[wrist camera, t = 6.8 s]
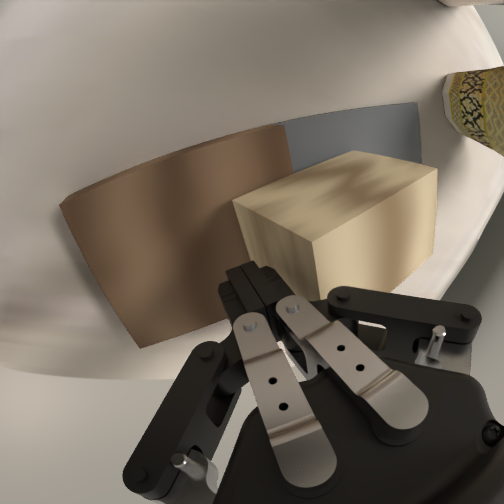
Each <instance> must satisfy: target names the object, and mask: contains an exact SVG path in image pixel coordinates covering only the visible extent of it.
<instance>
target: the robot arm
mask: <svg viewBox="0 0 504 504" xmlns="http://www.w3.org/2000/svg"><path fill="white" fill-rule="evenodd" d="M438 1H440V2H441V3H443V4H444V5H447V6H451V7H454V6H468V5H504V0H438ZM225 272H226V275H227V278H228V281H225V282H223V283H220V284H219V287H218V293H219V296H220V299H221V301H222V304H223V307H224V309H225V312H226V314H227V317H228V319H229V321H230V324H231V326H232V331H231V333H230V334H229V336H228V337H227V338H226V339H225V340H223V341H222V342H220V343H217V342H214V341H207V342H203V343H201V344H199V345H197V346H196V347H195V348H194V349H193V350H192V352H191V354H190V355H189V357H188V359H187V361H186V362H185V364H184V366H183V367H182V369H181V371H180V373H179V374H178V376H177V378H176V379H175V381H174V383H173V385H172V386H171V388H170V390H169V392H168V393H167V395H166V397H165V398H164V400H163V402H162V404H161V405H160V407H159V409H158V410H157V412H156V414H155V416H154V417H153V419H152V421H151V423H150V424H149V426H148V428H147V429H146V431H145V433H144V435H143V436H142V438H141V440H140V442H139V443H138V445H137V447H136V448H135V450H134V452H133V454H132V455H131V457H130V459H129V461H128V462H127V464H126V466H125V468H124V470H123V482H124V484H125V486H126V487H127V488H128V489H129V490H130V491H132V492H134V493H137V494H139V495H141V496H143V497H144V498H146V499H148V500H151V501H153V502H156V503H159V504H504V426H503V425H501V424H499V423H498V422H497V421H496V420H495V418H494V416H493V414H492V412H491V410H490V408H489V405H488V402H487V398H486V394H485V391H484V389H483V387H482V386H481V384H480V383H479V382H478V381H477V380H475V378H473V377H471V376H470V367H471V352H472V342H473V340H474V338H475V335H476V333H477V331H478V328H479V326H480V323H481V320H482V317H481V314H480V312H479V311H478V310H477V309H476V308H475V307H473V306H471V305H467V304H460V303H453V302H446V301H439V300H432V299H426V298H419V297H413V296H406V295H400V294H393V293H387V292H381V291H375V290H368V289H362V288H356V287H350V286H339V287H336V288H333V289H332V290H331V291H330V292H329V293H328V295H327V299H323V300H318V301H307V300H306V299H305V298H304V297H302V296H298V295H296V294H295V293H294V292H293V291H292V290H291V288H290V287H289V286H288V285H287V283H286V282H285V281H284V280H283V279H282V277H281V276H279V274H278V273H277V271H276V270H275V269H274V268H271V267H269V266H264V267H261V268H259V267H258V265H257V264H256V263H255V261H254V260H252V261H250V262H247V263H244V264H242V265H240V266H237V267H234V268H231V269H229V270H226V271H225ZM359 320H360V321H365V322H370V323H375V324H380V325H383V326H385V327H386V329H384V328H378V327H373V326H368V325H363V324H358V322H359ZM278 341H282V342H283V344H284V347H285V351H286V353H287V355H288V356H289V357H290V359H291V360H292V361H293V363H294V364H295V365H296V366H297V368H298V369H299V370H300V372H301V373H302V374H303V376H304V377H305V378H306V380H307V381H303V382H298V381H297V379H296V377H295V375H294V373H293V371H292V369H291V367H290V364H289V362H288V360H287V358H286V356H285V354H284V352H283V350H282V349H280V348H279V346H278V344H277V342H278ZM249 381H250V384H251V387H252V390H253V393H254V396H255V399H256V402H257V405H258V406H257V407H256V408H255V409H254V410H253V411H252V412H251V413H250V414H249V415H248V417H247V418H246V419H245V421H244V423H243V425H242V428H241V430H240V433H239V436H238V439H237V442H236V444H235V447H234V449H233V452H232V455H231V457H230V460H229V463H228V466H227V468H226V471H225V473H224V476H223V478H222V481H221V483H220V486H219V488H218V490H217V479H218V469H217V467H216V466H215V465H214V463H212V462H211V460H212V458H213V455H214V453H215V451H216V449H217V447H218V444H219V442H220V440H221V438H222V435H223V433H224V431H225V428H226V426H227V424H228V422H229V419H230V417H231V415H232V412H233V410H234V408H235V405H236V403H237V400H238V398H239V396H240V394H241V387H243V386H244V385H245V384H246V383H248V382H249Z"/></svg>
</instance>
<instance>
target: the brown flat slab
mask: <svg viewBox="0 0 504 504" xmlns="http://www.w3.org/2000/svg"><path fill="white" fill-rule="evenodd" d="M292 174H294V172H293V167H292V162H291V157H290V151H289V146H288V141H287V136H286V131H285V127H284V125H275V124H270V125H266V126H262V127H258V128H254V129H250V130H246V131H242V132H238V133H235V134H231V135H228V136H224V137H221V138H217V139H214V140H210V141H207V142H204V143H201V144H197V145H194V146H191V147H188V148H185V149H182V150H179V151H176V152H173V153H170V154H167V155H165V156H162V157H159V158H156V159H154V160H151V161H148V162H145V163H143V164H140V165H138V166H135V167H133V168H130V169H128V170H125V171H123V172H120V173H118V174H115V175H113V176H111V177H108V178H106V179H104V180H101V181H99V182H97V183H95V184H92V185H90V186H88V187H86V188H84V189H82V190H79V191H77V192H75V193H73V194H71V195H69V196H68V197H67V198H66V199H65V200H64V201H63V202H62V203H61V204H60V205H59V206H60V208H61V210H62V213H63V215H64V217H65V219H66V221H67V224H68V226H69V228H70V230H71V232H72V234H73V236H74V238H75V240H76V242H77V244H78V246H79V248H80V250H81V252H82V254H83V256H84V258H85V260H86V262H87V264H88V266H89V268H90V269H91V271H92V273H93V275H94V277H95V278H96V280H97V282H98V284H99V285H100V287H101V289H102V291H103V292H104V294H105V296H106V297H107V299H108V301H109V302H110V304H111V306H112V307H113V309H114V310H115V312H116V314H117V315H118V317H119V318H120V320H121V321H122V323H123V325H124V326H125V328H126V329H127V331H128V332H129V334H130V335H131V337H132V338H133V339H134V341H135V342H136V344H137V345H138V347H139V348H140V349H141V348H144V347H147V346H150V345H153V344H156V343H159V342H162V341H165V340H168V339H171V338H174V337H177V336H180V335H182V334H185V333H188V332H191V331H194V330H197V329H199V328H202V327H205V326H208V325H211V324H213V323H216V322H219V321H221V320H224V319H227V318H228V317H227V314H226V312H225V309H224V307H223V304H222V301H221V299H220V296H219V293H218V287H219V284H220V283H223V282H225V281H228V278H227V275H226V272H225V271H226V270H229V269H231V268H234V267H237V266H240V265H242V264H244V263H247V262H250V261H251V260H250V257H249V253H248V250H247V247H246V244H245V240H244V237H243V234H242V231H241V228H240V224H239V221H238V218H237V215H236V211H235V208H234V205H233V202H232V200H234V199H236V198H238V197H240V196H243V195H245V194H247V193H249V192H252V191H254V190H256V189H259V188H261V187H263V186H266V185H268V184H270V183H273V182H275V181H277V180H280V179H282V178H284V177H287V176H289V175H292Z"/></svg>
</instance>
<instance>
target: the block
mask: <svg viewBox="0 0 504 504" xmlns="http://www.w3.org/2000/svg"><path fill="white" fill-rule="evenodd" d="M232 202H233V205H234V208H235V211H236V215H237V218H238V221H239V224H240V228H241V231H242V234H243V237H244V240H245V244H246V247H247V250H248V253H249V257H250V260H251V261H252V260H254V261H255V263H256V264H257V265H258V267H259V268H261V267H264V266H269V267H271V268H274V269H275V270H276V271H277V273H278V274H279V276H281V277H282V279H283V280H284V281H285V282H286V283H287V285H288V286H289V287H290V288H291V290H292V291H293V292H294V293H295V294H296V295H298V296H302V297H304V298H305V299H306V300H307V301H318V300H323V299H327V295H328V293H329V292H330V291H331V290H332V289H333V288H336V287H339V286H350V287H356V288H362V289H368V290H375V291H381V292H387V293H390V292H391V291H392V290H394V289H395V288H396V287H397V286H398V285H399V284H400V283H402V282H403V281H404V280H405V279H406V278H407V277H408V276H409V275H410V274H412V273H413V272H414V271H415V270H416V269H417V268H418V267H419V266H420V265H421V264H422V263H423V262H424V261H426V260H427V259H428V258H429V257H430V256H431V255H432V254H433V247H434V237H435V225H436V210H437V168H434V167H431V166H427V165H423V164H418V163H414V162H410V161H406V160H401V159H396V158H392V157H387V156H382V155H377V154H371V153H366V152H360V151H354V150H353V151H350V152H347V153H345V154H342V155H339V156H337V157H334V158H332V159H329V160H327V161H324V162H321V163H319V164H316V165H314V166H311V167H309V168H306V169H304V170H301V171H299V172H297V173H294V174H292V175H289V176H287V177H284V178H282V179H280V180H277V181H275V182H273V183H270V184H268V185H266V186H263V187H261V188H259V189H256V190H254V191H252V192H249V193H247V194H245V195H243V196H240V197H238V198H236V199H234V200H232Z"/></svg>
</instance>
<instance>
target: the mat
mask: <svg viewBox="0 0 504 504" xmlns="http://www.w3.org/2000/svg"><path fill="white" fill-rule="evenodd" d="M275 125H284V127H285V131H286V136H287V141H288V146H289V151H290V157H291V162H292V167H293V172H294V173H297V172H299V171H301V170H304V169H306V168H309V167H311V166H314V165H316V164H319V163H321V162H324V161H327V160H329V159H332V158H334V157H337V156H339V155H342V154H345V153H347V152H350V151H353V150H354V151H360V152H366V153H371V154H377V155H382V156H387V157H392V158H396V159H401V160H406V161H410V162H414V163H418V164H421V140H420V126H419V114H418V105H417V103H404V104H392V105H382V106H373V107H365V108H357V109H350V110H343V111H337V112H331V113H325V114H319V115H313V116H308V117H303V118H298V119H293V120H288V121H284V122H279V123H275Z"/></svg>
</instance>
